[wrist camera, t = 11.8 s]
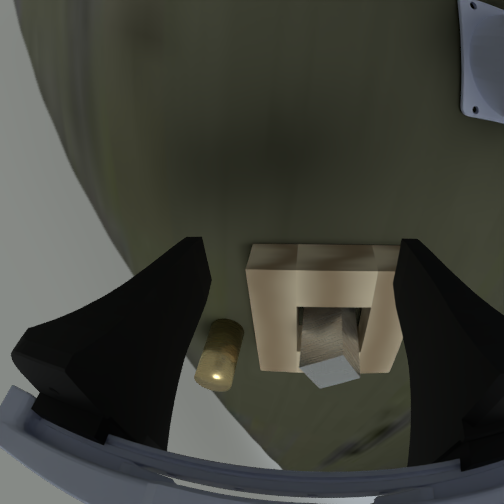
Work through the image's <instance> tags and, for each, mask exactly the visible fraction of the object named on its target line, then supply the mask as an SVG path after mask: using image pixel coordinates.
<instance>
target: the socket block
mask: <svg viewBox="0 0 504 504" xmlns="http://www.w3.org/2000/svg"><path fill="white" fill-rule="evenodd" d="M399 251H400V245H331V244H253V245H252V249H251V252H250V256H249V259H248V263H247V266H246V276H247V282H248V289H249V296H250V303H251V309H252V316H253V323H254V329H255V336H256V342H257V349H258V356H259V362H260V369H261V370H263V371H278V372H299V373H304V372H303V371H302V370H301V369H300V368H299V362H300V351H301V338H302V325H299V307H362V310H361V315H360V321H359V326H357V334H358V347H359V363H360V373H389V372H390V369H391V367H392V364H393V362H394V359H395V357H396V354H397V352H398V349H399V347H400V344H401V341H402V339H403V335H402V331H401V327H400V323H399V319H398V314H397V310H396V305H395V298H394V290H393V280H394V275H395V271H396V266H397V261H398V256H399Z"/></svg>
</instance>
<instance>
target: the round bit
mask: <svg viewBox="0 0 504 504" xmlns="http://www.w3.org/2000/svg"><path fill="white" fill-rule="evenodd" d="M243 336H244V330H243V328H242V326H241V325H239V324H238V323H237V322H235V321H232V320H229V319H218V320H216V321H214V322H213V323H212V326H211V329H210V332H209V335H208V338H207V340H206V343H205V346H204V349H203V352H202V355H201V358H200V361H199V364H198V367H197V370H196V374H195V376H194V378H195V381H196V382H197V383H198V384H199V385H201V386H202V387H204V388H207V389H209V390H213V391H227V390H229V389H230V388H231V385H232V381H233V377H234V373H235V369H236V364H237V360H238V356H239V352H240V348H241V344H242V340H243Z"/></svg>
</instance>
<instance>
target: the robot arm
mask: <svg viewBox="0 0 504 504" xmlns="http://www.w3.org/2000/svg"><path fill="white" fill-rule="evenodd" d="M470 3H472V4H473V5H474V9H472V8H471V6H470ZM458 11H459V22H460V36H461V65H462V76H461V111H462V113H463V114H464V115H466V116H469V117H474V118H480V119H485V120H490V121H494V122H499V123H503V124H504V10H503V9H500V8H497V7H495V6H492V5H489V4H486V3H484V2H481V1H478V0H458ZM474 106H475V107H476V112H475V113H473V111H472V109H473V107H474ZM211 281H212V279H211V275H210V270H209V266H208V262H207V257H206V253H205V249H204V244H203V240H202V237H186V238H184V239H183V240H181V241H180V242H179V243H177V244H176V245H175V246H173V247H172V248H171V249H169V250H168V251H167V252H166V253H164V254H163V255H162V256H161V257H159V258H158V259H157V260H155V261H154V262H153V263H152V264H150V265H149V266H148V267H146V268H145V269H144V270H142V271H141V272H139V273H138V274H137V275H135V276H134V277H133V278H131V279H130V280H129V281H127V282H126V283H124V284H123V285H121V286H120V287H118V288H117V289H115V290H113V291H112V292H110V293H108V294H107V295H105V296H103V297H102V298H100V299H98V300H96V301H94V302H92V303H90V304H88V305H86V306H84V307H83V308H81V309H78V310H76V311H74V312H72V313H69V314H67V315H65V316H62V317H60V318H57V319H55V320H52V321H49V322H46V323H43V324H40V325H37V326H35V327H31V328H28V329H27V330H26V332H25V333H24V335H23V336H22V337H21V339H20V341H19V342H18V343H17V345H16V346H15V348H14V349H13V351H12V353H11V357H12V360H13V362H14V364H15V365H16V367H17V368H18V369H19V370H20V372H21V373H22V374H23V375H24V376H25V377H26V378H27V379H28V380H29V382H30V383H31V384H32V385H33V386H34V387H35V388H36V389H37V390H38V391H39V392H40V393H39V395H38V397H37V398H35V397H34V396H32V395H31V394H30V393H28V392H25V391H24V390H22V389H20V388H18V387H16V386H14V385H12V386H11V388H10V390H9V391H8V393H7V395H6V397H5V399H4V400H3V402H2V404H1V406H0V447H1V448H2V449H3V450H5V451H6V452H7V453H8V454H10V455H11V456H12V457H14V458H15V459H16V460H17V461H19V462H20V463H21V464H23V465H24V466H26V467H27V468H28V469H30V470H31V471H33V472H34V473H36V474H37V475H38V476H40V477H42V478H43V479H44V480H46V481H47V482H49V483H51V484H52V485H54V486H55V487H57V488H59V489H60V490H62V491H64V492H65V493H67V494H69V495H71V496H72V497H74V498H76V499H77V500H79V501H81V502H83V503H85V504H316V503H293V502H279V501H268V500H259V499H251V498H244V497H237V496H230V495H224V494H218V493H213V492H208V491H204V490H199V489H194V488H190V487H186V486H182V485H177V484H176V483H175V482H174V481H173V480H172V479H171V478H168V477H172V478H176V479H180V480H184V481H189V482H193V483H198V484H202V485H207V486H212V487H217V488H223V489H228V490H235V491H241V492H249V493H257V494H265V495H276V496H290V497H311V498H345V497H364V496H365V497H366V496H378V497H376V498H375V499H374V503H372V504H504V315H502V314H501V313H500V312H498V311H497V310H496V309H494V308H493V307H491V306H490V305H489V304H488V303H487V302H485V301H484V300H483V299H482V298H480V297H479V296H478V295H477V294H475V293H474V292H473V291H472V290H471V289H470V288H469V287H468V286H466V285H465V284H464V283H463V282H462V281H461V280H460V279H459V278H458V277H457V276H456V275H455V274H454V273H452V272H451V271H450V270H449V269H448V268H447V267H446V266H445V265H444V264H443V263H442V262H441V261H440V260H439V259H438V258H437V257H436V256H435V255H434V254H433V253H432V252H431V251H430V250H429V249H428V248H427V247H426V246H425V245H424V244H423V243H422V242H420V241H419V240H418V239H402V240H401V246H400V251H399V256H398V261H397V266H396V271H395V275H394V280H393V290H394V298H395V305H396V310H397V314H398V319H399V323H400V327H401V331H402V335H403V340H404V344H405V349H406V353H407V358H408V364H409V374H410V388H411V432H410V447H409V457H408V465H407V467H405V468H396V469H386V470H373V471H352V472H310V471H289V470H275V469H264V468H256V467H247V466H240V465H233V464H226V463H220V462H214V461H209V460H204V459H199V458H194V457H189V456H184V455H180V454H175V453H171V452H167V445H168V437H169V430H170V423H171V417H172V411H173V406H174V400H175V395H176V391H177V386H178V382H179V378H180V373H181V370H182V366H183V362H184V358H185V356H186V353H187V350H188V347H189V345H190V342H191V340H192V337H193V335H194V332H195V330H196V327H197V325H198V322H199V320H200V317H201V315H202V312H203V310H204V307H205V304H206V301H207V297H208V294H209V289H210V285H211ZM157 473H158V474H157ZM160 474H162V475H165V476H168V477H165V476H162V475H160ZM379 495H382V496H379Z"/></svg>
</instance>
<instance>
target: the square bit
mask: <svg viewBox="0 0 504 504" xmlns="http://www.w3.org/2000/svg"><path fill="white" fill-rule="evenodd" d="M299 368H300V369H301V370H302V371H303V372H304V373H305V374H306V375H307V376H308V377H309V378H310V379H311V380H312V381H313V382H314V383H315V384H316V385H317V386H318V387H319V388H324V387H328V386H332V385H336V384H339V383H343V382H347V381H350V380H354V379H358V378H360V363H359V347H358V334H357V322H356V311H355V307H304V311H303V325H302V338H301V351H300V362H299Z"/></svg>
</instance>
